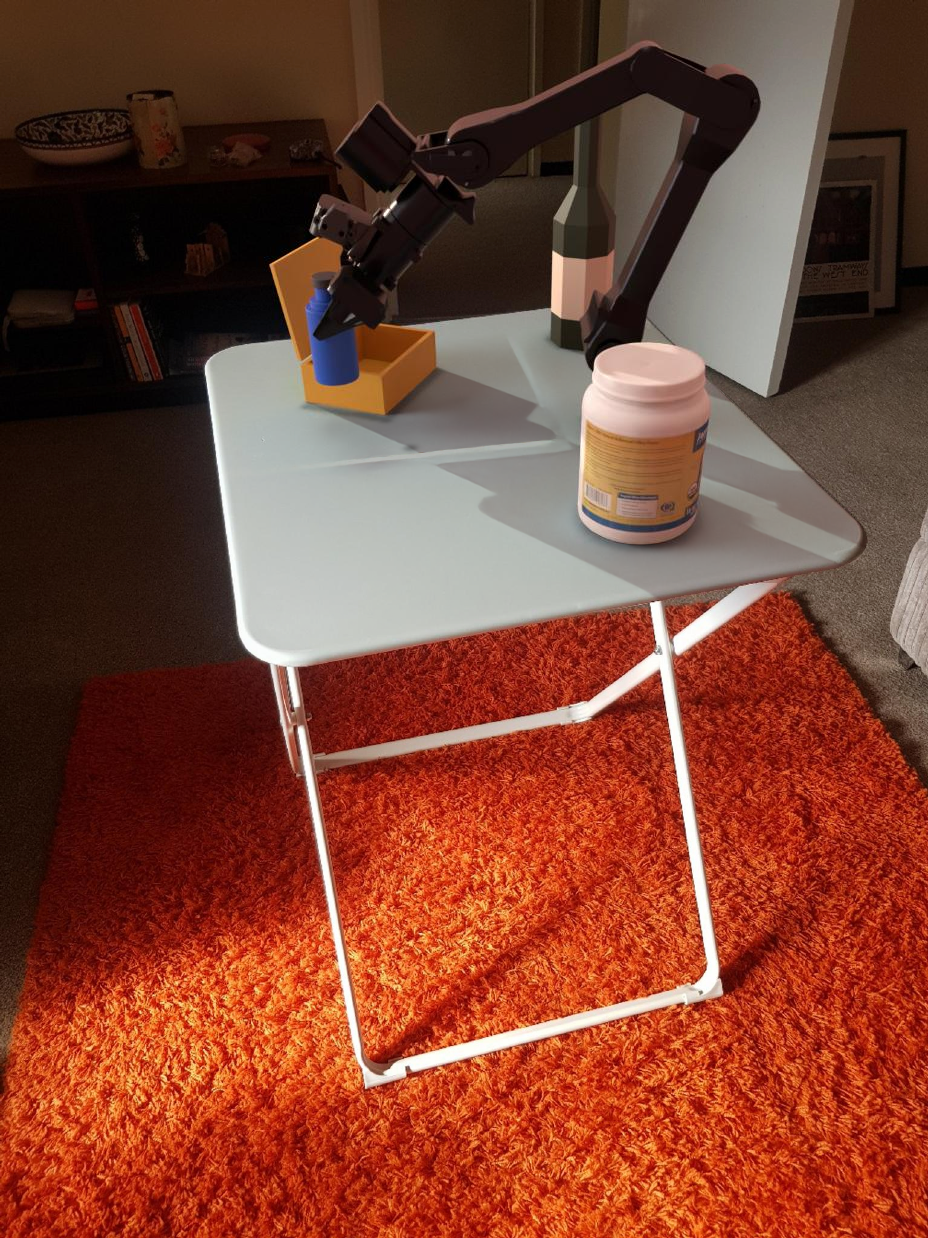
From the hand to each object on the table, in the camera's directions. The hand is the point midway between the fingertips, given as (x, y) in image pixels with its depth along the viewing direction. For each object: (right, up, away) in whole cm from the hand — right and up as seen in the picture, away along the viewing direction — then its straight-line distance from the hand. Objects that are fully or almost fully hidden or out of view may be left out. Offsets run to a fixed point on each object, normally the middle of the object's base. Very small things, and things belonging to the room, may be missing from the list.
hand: (319, 328), depth 111 cm
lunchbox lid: (-2, +8, +13) cm, 15 cm away
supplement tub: (+34, -23, -9) cm, 42 cm away
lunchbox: (+4, -3, +18) cm, 19 cm away
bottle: (+2, -5, +4) cm, 6 cm away
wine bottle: (+33, +7, +29) cm, 44 cm away
